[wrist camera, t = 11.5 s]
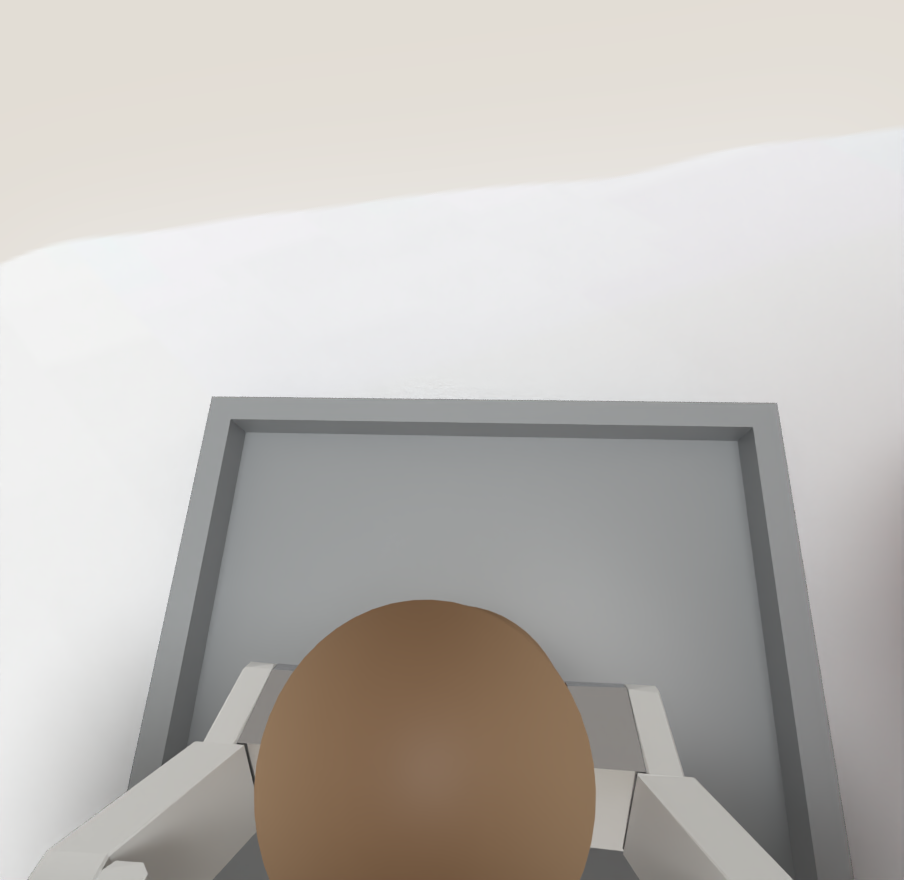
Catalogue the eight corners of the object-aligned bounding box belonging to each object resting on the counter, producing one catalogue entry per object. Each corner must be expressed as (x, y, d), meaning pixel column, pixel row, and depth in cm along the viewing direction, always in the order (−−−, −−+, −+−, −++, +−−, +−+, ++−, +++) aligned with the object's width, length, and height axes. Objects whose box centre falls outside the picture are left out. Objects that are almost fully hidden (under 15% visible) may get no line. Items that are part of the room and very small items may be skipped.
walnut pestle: (559, 615, 15) (621, 575, 7) (562, 834, 13) (646, 1073, 6) (376, 607, 15) (258, 560, 8) (355, 818, 14) (180, 1018, 6)
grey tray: (752, 425, 19) (777, 402, 17) (859, 1168, 13) (913, 1245, 11) (235, 417, 21) (212, 396, 19) (106, 1070, 15) (55, 1124, 13)
